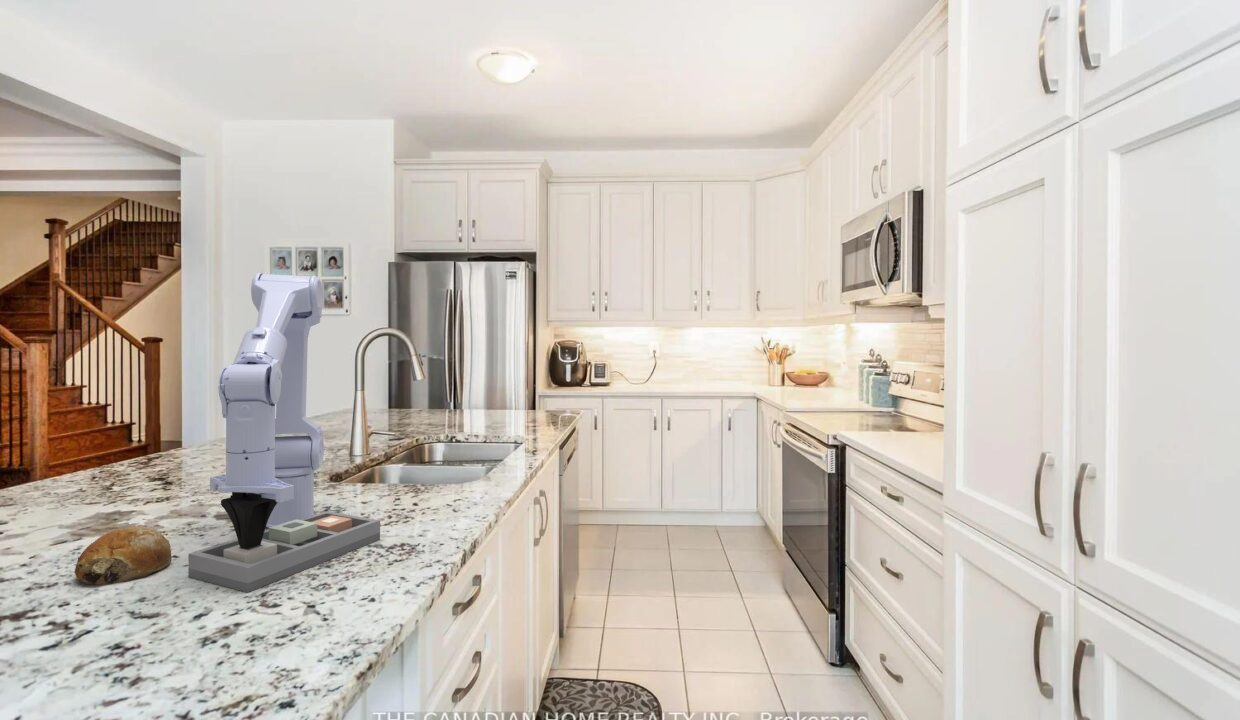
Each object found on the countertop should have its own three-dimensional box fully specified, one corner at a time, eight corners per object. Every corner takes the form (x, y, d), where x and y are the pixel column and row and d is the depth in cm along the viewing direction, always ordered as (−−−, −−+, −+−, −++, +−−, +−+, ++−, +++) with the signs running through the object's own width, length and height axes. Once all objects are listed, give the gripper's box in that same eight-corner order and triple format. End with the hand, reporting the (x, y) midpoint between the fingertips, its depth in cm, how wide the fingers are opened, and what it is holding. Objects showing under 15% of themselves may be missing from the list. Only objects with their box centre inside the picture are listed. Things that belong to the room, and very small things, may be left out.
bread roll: (174, 593, 80) (199, 535, 83) (95, 589, 71) (127, 524, 74) (128, 583, 83) (154, 527, 86) (47, 577, 74) (79, 516, 77)
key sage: (268, 541, 83) (268, 527, 83) (296, 532, 87) (296, 518, 87) (290, 545, 81) (290, 531, 81) (317, 536, 86) (317, 522, 86)
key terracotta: (307, 535, 89) (307, 522, 89) (331, 527, 93) (331, 514, 93) (328, 539, 87) (328, 526, 87) (351, 531, 92) (352, 518, 92)
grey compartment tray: (188, 576, 76) (188, 553, 76) (327, 529, 97) (327, 511, 97) (247, 592, 72) (247, 568, 72) (380, 539, 92) (380, 520, 92)
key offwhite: (223, 564, 77) (223, 548, 77) (255, 553, 81) (255, 538, 81) (245, 569, 75) (245, 554, 75) (276, 558, 80) (277, 543, 80)
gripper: (186, 450, 77) (186, 547, 77) (258, 459, 72) (258, 564, 72) (238, 442, 84) (238, 532, 84) (307, 450, 78) (307, 547, 78)
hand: (250, 546), depth 78 cm, fingers closed, pressing on key offwhite
